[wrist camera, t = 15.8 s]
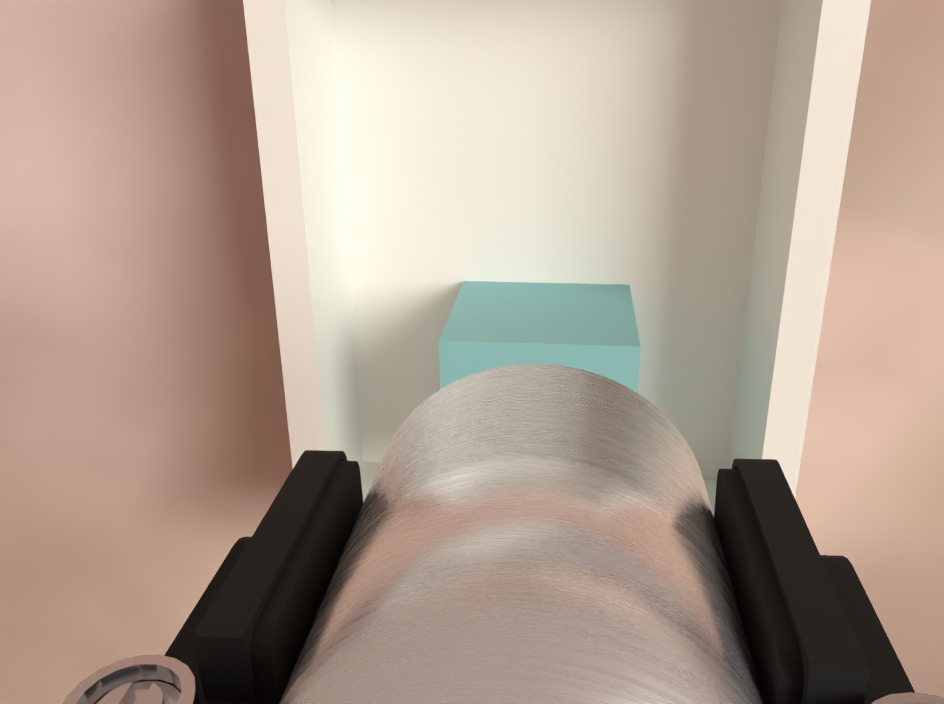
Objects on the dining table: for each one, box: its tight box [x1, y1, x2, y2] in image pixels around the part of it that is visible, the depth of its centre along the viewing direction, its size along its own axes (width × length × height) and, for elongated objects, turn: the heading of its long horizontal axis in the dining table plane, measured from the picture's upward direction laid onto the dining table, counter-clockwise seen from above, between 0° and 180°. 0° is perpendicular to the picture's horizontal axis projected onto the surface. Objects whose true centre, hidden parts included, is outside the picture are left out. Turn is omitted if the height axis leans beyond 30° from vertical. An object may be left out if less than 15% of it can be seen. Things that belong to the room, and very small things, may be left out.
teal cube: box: [439, 281, 641, 393], centre depth 24 cm, size 5×5×5 cm
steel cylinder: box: [279, 363, 764, 704], centre depth 10 cm, size 5×5×7 cm
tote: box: [243, 0, 871, 516], centre depth 24 cm, size 14×18×5 cm
